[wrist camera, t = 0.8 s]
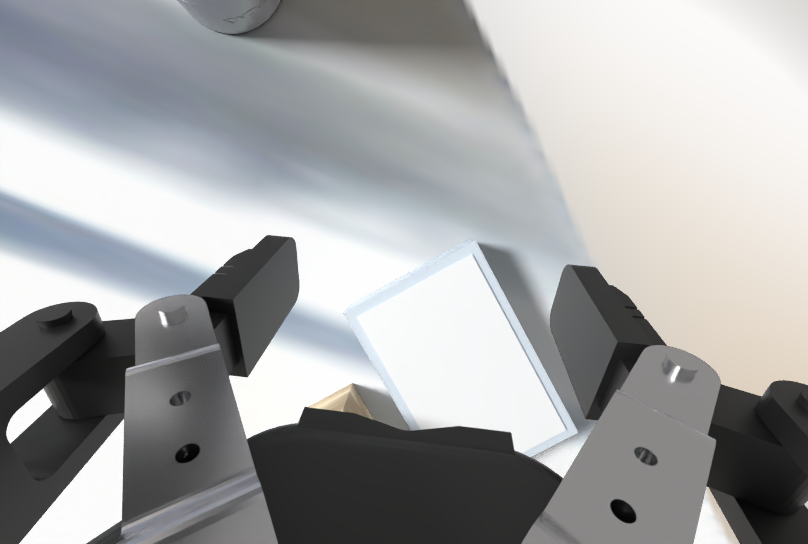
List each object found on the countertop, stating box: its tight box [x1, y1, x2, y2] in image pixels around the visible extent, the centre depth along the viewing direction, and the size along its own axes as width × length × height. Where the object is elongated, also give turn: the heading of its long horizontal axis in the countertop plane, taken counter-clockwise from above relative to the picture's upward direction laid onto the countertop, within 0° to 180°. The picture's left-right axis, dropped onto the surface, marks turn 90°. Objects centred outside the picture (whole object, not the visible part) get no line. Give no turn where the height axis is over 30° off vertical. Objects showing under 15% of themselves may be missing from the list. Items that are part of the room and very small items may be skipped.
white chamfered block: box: [343, 240, 578, 457], centre depth 33 cm, size 18×12×4 cm, turn 29°
